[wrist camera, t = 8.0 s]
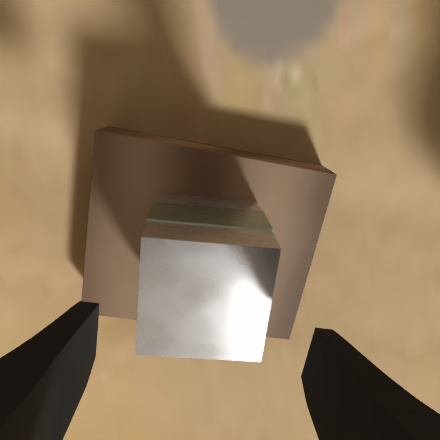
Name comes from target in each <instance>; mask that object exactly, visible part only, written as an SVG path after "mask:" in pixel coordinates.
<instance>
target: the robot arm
mask: <svg viewBox="0 0 440 440" xmlns="http://www.w3.org/2000/svg"><path fill="white" fill-rule="evenodd" d="M98 317H99V303H93V302H84V301H79V302H78V303H77V304H75V305H74V306H73V307H71V308H70V309H69V310H68V311H66V312H65V313H64V314H63V315H61V316H60V317H59V318H57V319H56V320H55V321H54V322H52V323H51V324H50V325H48V326H47V327H46V328H44V329H43V330H42V331H40V332H39V333H38V334H36V335H35V336H33V337H32V338H31V339H29V340H28V341H26V342H25V343H23V344H22V345H20V346H19V347H17V348H16V349H14V350H13V351H11V352H9V353H8V354H6V355H5V356H3V357H1V358H0V440H63V437H64V435H65V433H66V431H67V429H68V426H69V424H70V422H71V420H72V417H73V415H74V413H75V411H76V408H77V406H78V404H79V402H80V399H81V397H82V395H83V392H84V390H85V388H86V385H87V382H88V379H89V376H90V373H91V370H92V366H93V363H94V360H95V356H96V344H97V330H98ZM301 378H302V383H303V388H304V393H305V398H306V402H307V406H308V409H309V412H310V415H311V418H312V421H313V424H314V427H315V430H316V432H317V435H318V438H319V440H440V414H438V413H437V412H436V411H434V410H433V409H431V408H430V407H428V406H427V405H425V404H424V403H422V402H421V401H419V400H418V399H417V398H415V397H414V396H413V395H411V394H410V393H409V392H407V391H406V390H405V389H403V388H402V387H401V386H400V385H398V384H397V383H396V382H394V381H393V380H392V379H391V378H389V377H388V376H387V375H386V374H385V373H383V372H382V371H381V370H380V369H379V368H377V367H376V366H375V365H374V364H373V363H371V362H370V361H369V360H368V359H367V358H366V357H365V356H363V355H362V354H361V353H360V352H359V351H358V350H357V349H355V348H354V347H353V346H352V345H351V344H350V343H348V342H347V341H346V340H345V339H344V338H343V337H341V336H340V335H339V334H338V333H336V332H335V331H334V330H331V329H322V328H315V331H314V334H313V338H312V341H311V344H310V348H309V351H308V355H307V358H306V362H305V365H304V369H303V372H302V375H301Z"/></svg>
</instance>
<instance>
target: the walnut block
mask: <svg viewBox="0 0 440 440" xmlns="http://www.w3.org/2000/svg"><path fill="white" fill-rule="evenodd" d="M336 175H337V174H335V173H333V172H332V171H330V170H328V169H327V168H325V167H324V166H322V165H317V164H312V163H306V162H301V161H295V160H290V159H284V158H279V157H273V156H268V155H262V154H257V153H251V152H245V151H240V150H234V149H229V148H223V147H218V146H212V145H207V144H201V143H196V142H190V141H185V140H179V139H174V138H168V137H163V136H157V135H152V134H146V133H140V132H135V131H129V130H124V129H118V128H113V127H104V128H102V129H99V130H97V131H95V137H94V150H93V163H92V175H91V188H90V201H89V213H88V226H87V238H86V251H85V264H84V276H83V289H82V301H84V302H93V303H99V315H101V316H109V317H117V318H125V319H132V320H137V313H138V292H139V271H140V250H141V236H142V233H143V231H144V228H145V226H146V219H147V216H148V214H149V211H150V209H151V206H152V204H153V201H155V200H156V197H157V195H158V192H164V193H175V194H185V195H196V196H207V197H217V198H228V199H238V200H249V201H257V202H258V204H259V206H260V208H261V210H262V211H264V213H265V214H266V216H267V218H268V220H269V222H270V224H271V226H272V228H273V234H274V236H275V238H276V239H277V241H278V243H279V245H280V247H281V253H280V259H279V264H278V270H277V275H276V281H275V286H274V292H273V297H272V303H271V308H270V314H269V319H268V325H267V331H266V337H274V338H282V339H289V338H290V334H291V331H292V328H293V324H294V321H295V317H296V314H297V310H298V307H299V303H300V300H301V296H302V293H303V289H304V286H305V282H306V279H307V276H308V272H309V269H310V265H311V262H312V258H313V255H314V251H315V248H316V244H317V241H318V237H319V234H320V231H321V227H322V224H323V220H324V217H325V213H326V210H327V206H328V203H329V199H330V196H331V192H332V189H333V186H334V182H335V179H336Z"/></svg>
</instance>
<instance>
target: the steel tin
mask: <svg viewBox="0 0 440 440" xmlns="http://www.w3.org/2000/svg"><path fill="white" fill-rule="evenodd" d="M280 253H281V247H280V245H279V243H278V241H277V239H276V238H275V236H274V234H273V228H272V226H271V224H270V222H269V220H268V218H267V216H266V214H265V213H264V211H262V210H261V208H260V206H259V204H258V202H257V201H249V200H238V199H228V198H217V197H207V196H196V195H185V194H175V193H164V192H158V195H157V197H156V200H155V201H153V204H152V206H151V209H150V211H149V214H148V216H147V219H146V226H145V228H144V231H143V233H142V236H141V250H140V271H139V292H138V313H137V334H136V355H146V356H164V357H182V358H199V359H217V360H235V361H252V362H261V358H262V353H263V347H264V342H265V336H266V331H267V325H268V319H269V314H270V308H271V303H272V297H273V292H274V286H275V281H276V275H277V270H278V264H279V259H280Z"/></svg>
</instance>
